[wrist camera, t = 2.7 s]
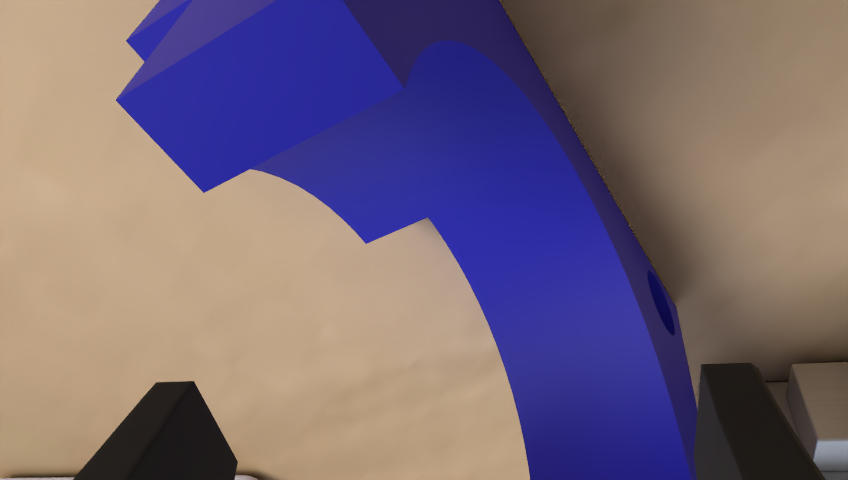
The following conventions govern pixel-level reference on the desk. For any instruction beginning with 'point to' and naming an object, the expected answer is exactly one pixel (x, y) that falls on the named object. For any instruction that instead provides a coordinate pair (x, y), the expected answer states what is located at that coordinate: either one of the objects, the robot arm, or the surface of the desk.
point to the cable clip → (443, 193)
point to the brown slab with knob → (817, 412)
